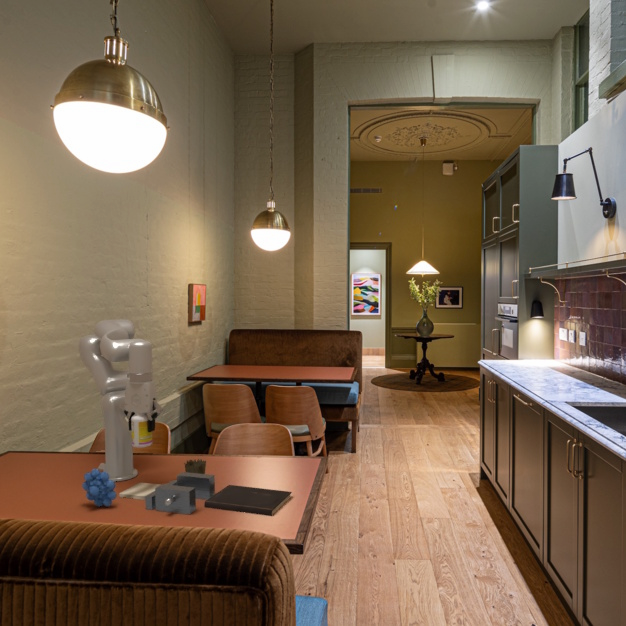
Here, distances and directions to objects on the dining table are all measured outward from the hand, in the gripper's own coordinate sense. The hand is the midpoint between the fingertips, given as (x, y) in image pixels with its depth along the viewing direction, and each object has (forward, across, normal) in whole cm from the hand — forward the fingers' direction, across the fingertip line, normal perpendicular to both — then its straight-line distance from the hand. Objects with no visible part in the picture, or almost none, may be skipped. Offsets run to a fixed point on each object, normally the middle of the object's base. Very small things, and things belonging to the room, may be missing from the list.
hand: (141, 430), depth 179 cm
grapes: (+21, -6, -15) cm, 27 cm away
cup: (+21, +13, +12) cm, 28 cm away
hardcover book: (+22, +38, +2) cm, 44 cm away
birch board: (+21, 0, 0) cm, 21 cm away
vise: (+21, +17, -6) cm, 28 cm away
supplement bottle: (+5, 0, 0) cm, 5 cm away
